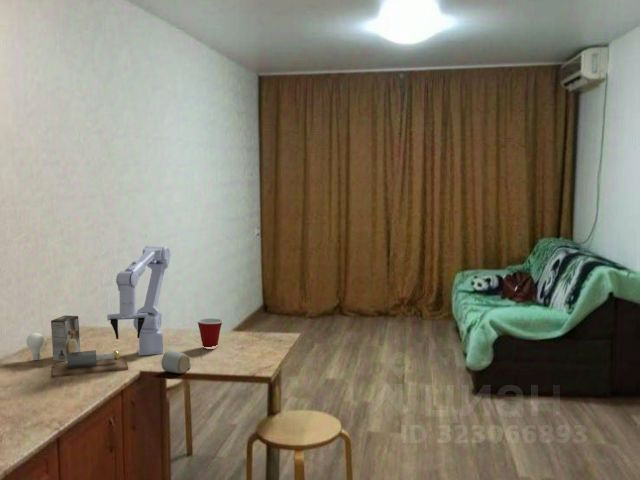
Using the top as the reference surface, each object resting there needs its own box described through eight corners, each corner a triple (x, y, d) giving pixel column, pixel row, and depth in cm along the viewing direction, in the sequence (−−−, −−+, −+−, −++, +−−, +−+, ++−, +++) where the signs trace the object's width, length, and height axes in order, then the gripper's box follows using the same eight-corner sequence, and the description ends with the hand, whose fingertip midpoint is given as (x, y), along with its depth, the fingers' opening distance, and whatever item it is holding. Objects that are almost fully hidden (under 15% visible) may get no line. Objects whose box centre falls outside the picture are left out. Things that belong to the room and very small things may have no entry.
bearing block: (96, 362, 237) (96, 350, 237) (96, 366, 232) (96, 354, 231) (68, 365, 234) (67, 352, 233) (67, 369, 228) (67, 357, 228)
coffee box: (66, 353, 252) (64, 314, 250) (80, 354, 250) (79, 315, 249) (52, 360, 243) (50, 320, 241) (67, 361, 242) (65, 321, 240)
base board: (126, 358, 245) (126, 356, 245) (128, 369, 232) (128, 366, 232) (54, 366, 236) (54, 363, 236) (52, 377, 223) (52, 374, 223)
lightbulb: (49, 359, 244) (47, 331, 243) (35, 363, 239) (34, 335, 237) (37, 357, 247) (36, 330, 246) (23, 361, 241) (22, 333, 240)
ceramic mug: (179, 376, 224) (179, 355, 223) (161, 373, 227) (160, 352, 227) (196, 368, 234) (196, 348, 233) (178, 365, 237) (178, 345, 236)
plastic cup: (229, 346, 262) (228, 318, 261) (211, 353, 253) (210, 324, 251) (209, 342, 268) (209, 315, 266) (191, 348, 259) (191, 320, 257)
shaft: (118, 358, 239) (118, 349, 238) (119, 361, 235) (118, 351, 235) (73, 362, 233) (73, 353, 233) (73, 365, 230) (73, 356, 230)
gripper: (106, 305, 230) (107, 341, 231) (147, 303, 234) (147, 339, 235) (107, 302, 237) (108, 337, 238) (147, 300, 241) (147, 335, 242)
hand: (127, 338), depth 237 cm, fingers open, 7 cm apart
